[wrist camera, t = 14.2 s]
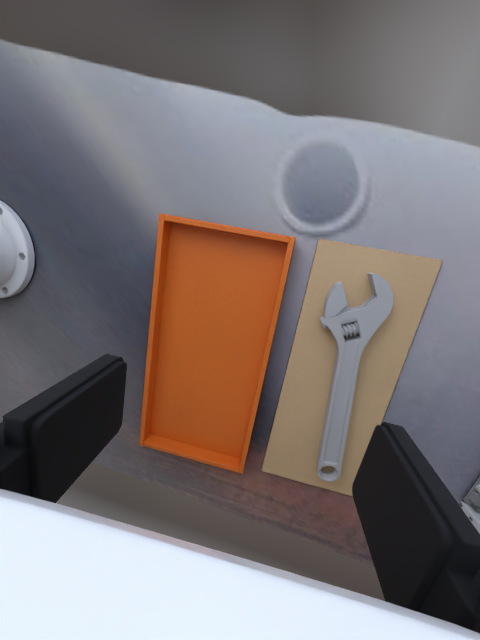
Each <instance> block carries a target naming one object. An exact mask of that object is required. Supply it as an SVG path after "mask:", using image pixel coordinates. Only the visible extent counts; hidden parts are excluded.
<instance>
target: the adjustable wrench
mask: <svg viewBox="0 0 480 640" xmlns="http://www.w3.org/2000/svg"><path fill="white" fill-rule="evenodd" d="M368 278H369V282H370V286H371V290H372V294H373V295H372V296H371V297H370V298H369V299H368V300H366V301H365V302H364V303H363V304H362V305H361V306H357V307H353V308H352V307H348V306H347V305H348V303H347V299H346V295H345V292H344V288H343V284H342V283H341V282H337V283H334V285H333V286H332V287H331V289H330V290H329V292H328V294H327V296H326V299H325V302H324V309H323V316H321V317H319V318H320V320H321V322H322V326H323V329H326V328H329V329H330V330H331V331H332V333H333V335H334V337H335V340H336V346H337V349H336V357H335V363H334V368H333V374H332V379H331V385H330V390H329V396H328V402H327V407H326V413H325V418H324V424H323V429H322V435H321V440H320V446H319V451H318V457H317V462H316V465H317V472H318V476H319V477H320V479H322V480H323V481H326V482H334V481H336V480H337V479H338V478H339V476H340V472H341V466H342V460H343V454H344V449H345V443H346V437H347V431H348V425H349V419H350V413H351V407H352V401H353V396H354V390H355V384H356V378H357V372H358V366H359V360H360V357H361V353H362V351H363V349H364V347H365V346H366V344H367V343H368V341H369V340H370V338H371V337H372V335H373V334H374V332H375V331H376V330H377V329H378V327H379V326H380V325H381V324H382V323H383V321H384V320H385V319H386V318H387V317H388V315H389V314H390V312H391V309H392V306H393V301H394V299H393V292H392V289H391V287H390V285H389V284H388V282H387V281H386V280H385V279H384V278H383V277H381V276H380V275H378V274H375V273H368ZM351 322H352V323H351ZM347 323H348V324H347ZM343 324H344V325H343ZM356 333H358V335H356ZM352 334H354V336H352ZM348 335H350V336H351V337H349V338H348ZM344 336H346V337H347V338H345V339H344ZM324 466H332V467H334V468H335V469H334V470H333V471H330V472H325V471H323V470H321V468H322V467H324Z"/></svg>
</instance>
